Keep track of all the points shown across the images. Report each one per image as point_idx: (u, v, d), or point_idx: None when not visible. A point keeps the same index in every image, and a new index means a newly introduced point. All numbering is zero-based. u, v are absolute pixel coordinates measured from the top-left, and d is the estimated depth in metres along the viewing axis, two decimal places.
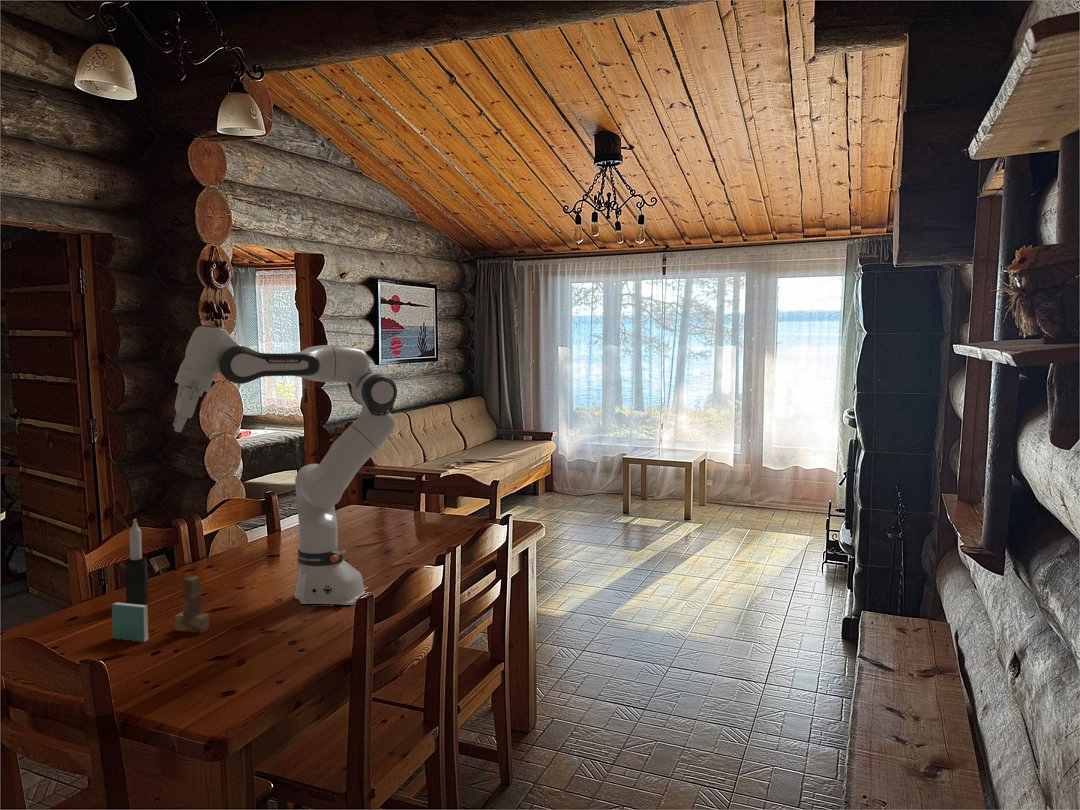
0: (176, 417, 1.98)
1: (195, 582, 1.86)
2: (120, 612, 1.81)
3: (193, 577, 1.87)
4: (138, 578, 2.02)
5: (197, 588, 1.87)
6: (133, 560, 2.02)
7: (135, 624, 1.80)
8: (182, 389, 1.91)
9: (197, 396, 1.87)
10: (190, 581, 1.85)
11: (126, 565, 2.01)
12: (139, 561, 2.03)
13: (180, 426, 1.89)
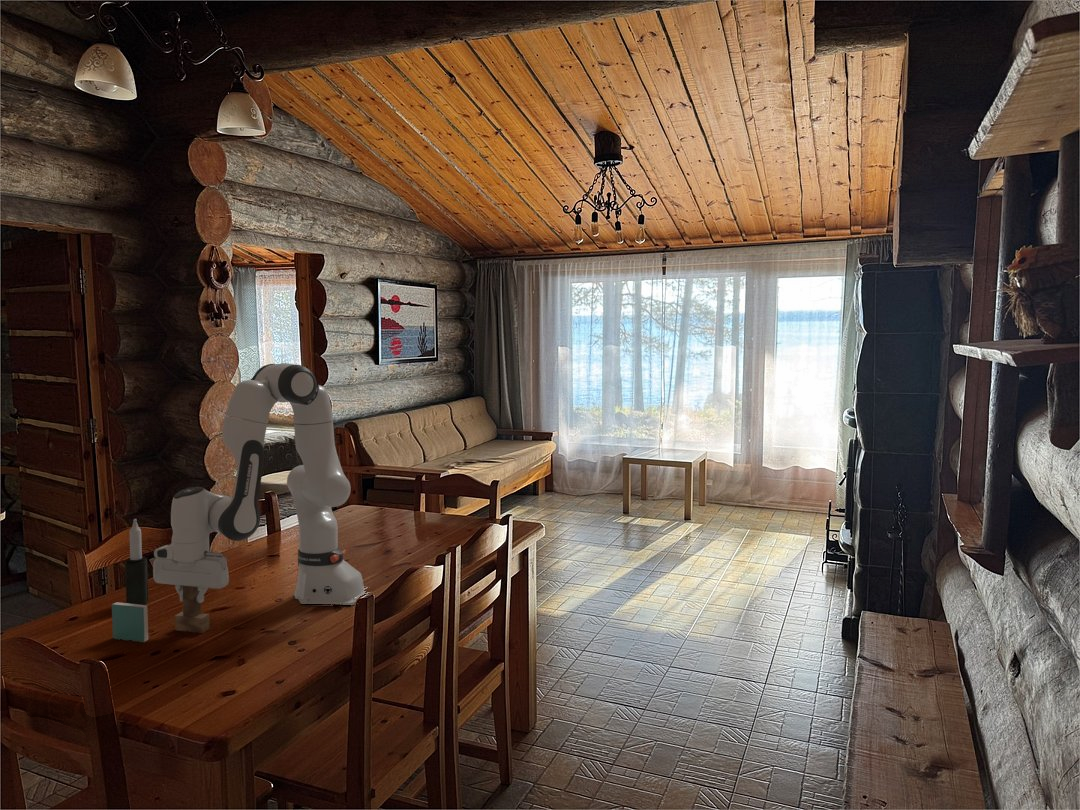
0: (180, 591, 1.87)
1: None
2: (120, 612, 1.81)
3: None
4: (138, 578, 2.02)
5: (197, 587, 1.87)
6: (133, 560, 2.02)
7: (135, 624, 1.80)
8: (193, 564, 1.84)
9: None
10: None
11: (126, 565, 2.01)
12: (139, 561, 2.03)
13: (202, 596, 1.87)
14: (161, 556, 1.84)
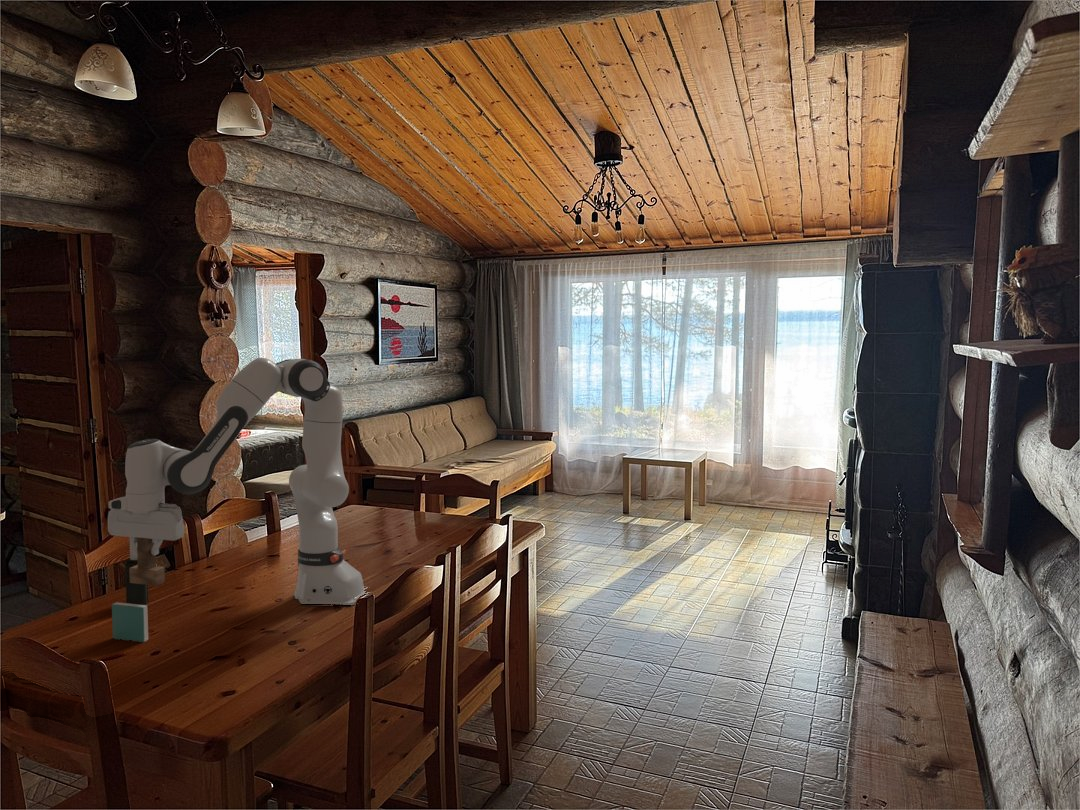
0: (135, 543, 1.86)
1: None
2: (120, 612, 1.81)
3: None
4: None
5: None
6: (133, 560, 2.02)
7: (135, 624, 1.80)
8: (147, 515, 1.83)
9: None
10: None
11: (126, 565, 2.01)
12: None
13: (157, 548, 1.86)
14: (115, 507, 1.83)
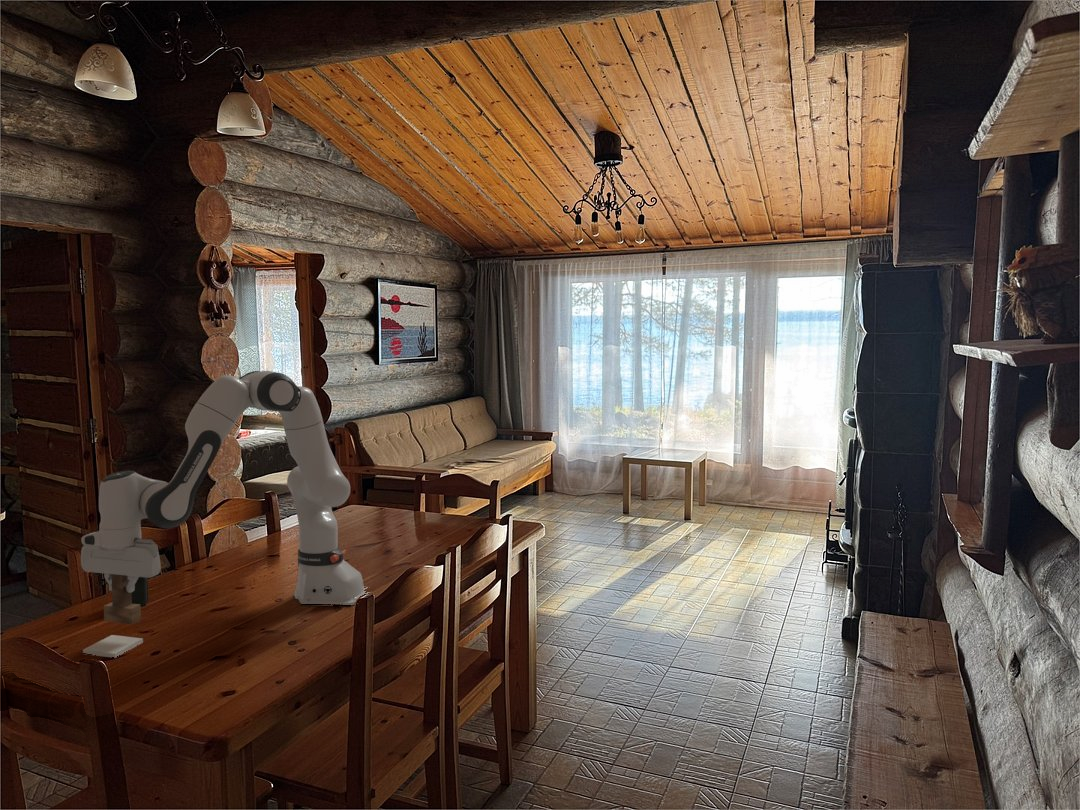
0: (110, 580, 1.78)
1: None
2: None
3: None
4: (138, 578, 2.02)
5: (127, 576, 1.78)
6: None
7: None
8: (122, 551, 1.75)
9: None
10: None
11: None
12: None
13: (132, 585, 1.78)
14: (89, 543, 1.75)
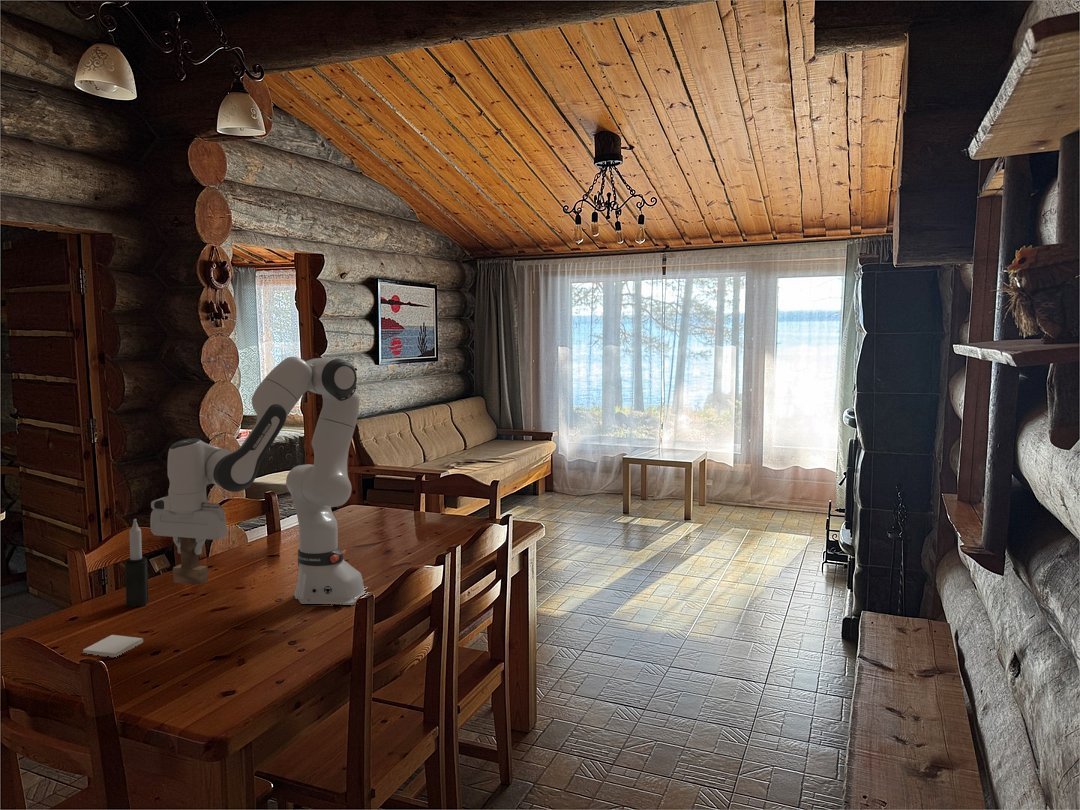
0: (178, 543, 1.86)
1: None
2: None
3: None
4: (138, 578, 2.02)
5: (195, 539, 1.86)
6: (133, 560, 2.02)
7: None
8: (190, 515, 1.83)
9: None
10: None
11: (126, 565, 2.01)
12: (139, 561, 2.03)
13: (200, 548, 1.86)
14: (158, 507, 1.83)
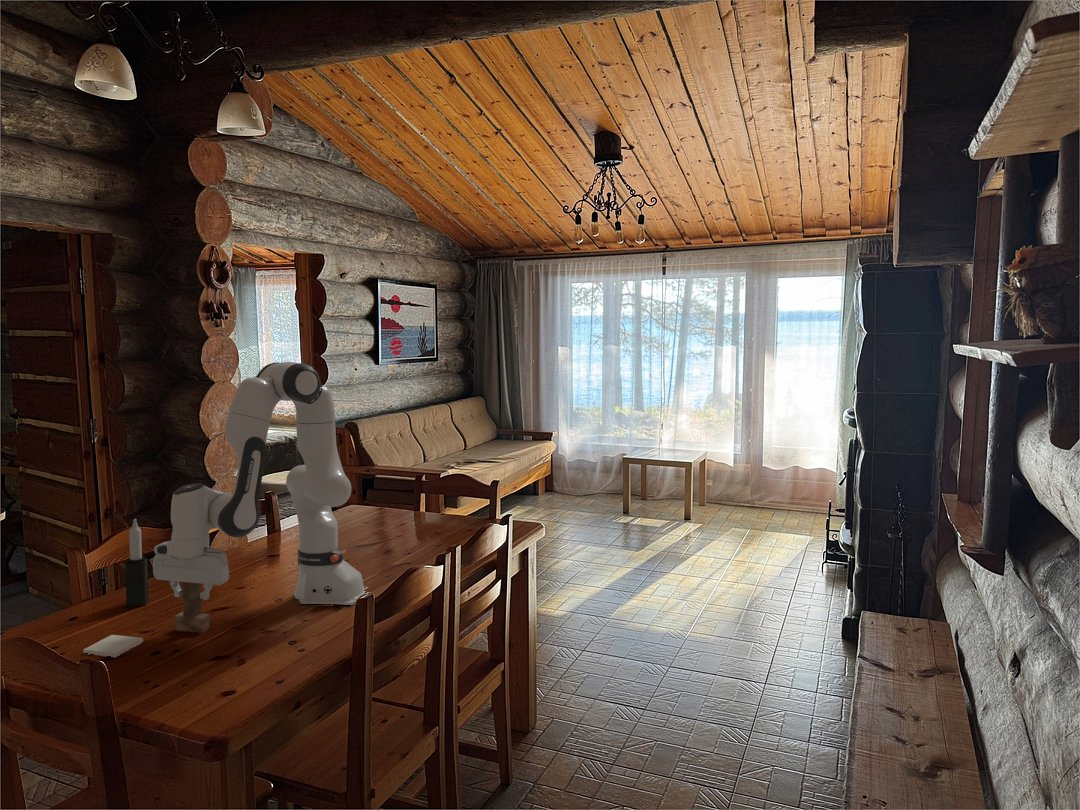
0: (175, 587, 1.87)
1: None
2: None
3: None
4: (138, 578, 2.02)
5: (197, 588, 1.87)
6: (133, 560, 2.02)
7: None
8: (193, 560, 1.84)
9: None
10: None
11: (126, 565, 2.01)
12: (139, 561, 2.03)
13: (207, 593, 1.87)
14: (161, 552, 1.84)
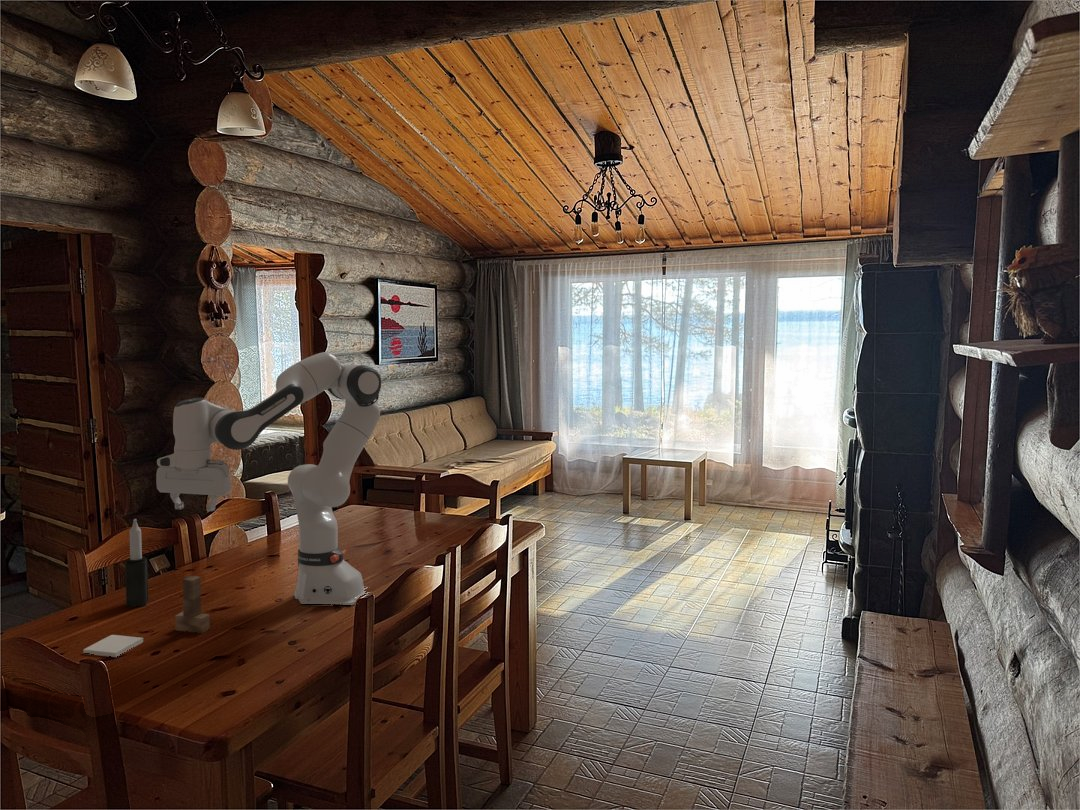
0: (175, 499, 1.92)
1: (195, 582, 1.86)
2: None
3: (194, 577, 1.87)
4: (138, 578, 2.02)
5: (197, 588, 1.87)
6: (133, 560, 2.02)
7: None
8: (196, 471, 1.88)
9: None
10: (190, 581, 1.85)
11: (126, 565, 2.01)
12: (139, 561, 2.03)
13: (213, 504, 1.91)
14: (164, 464, 1.88)
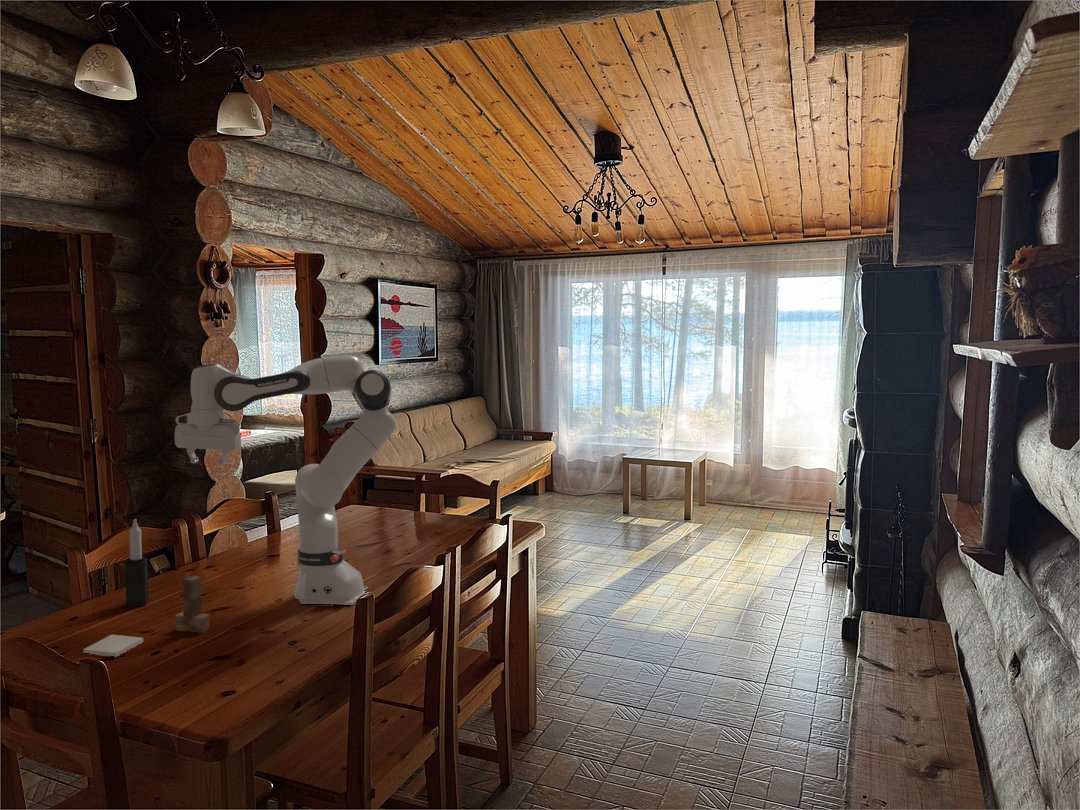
0: (191, 454, 2.14)
1: (195, 582, 1.86)
2: None
3: (194, 577, 1.87)
4: (138, 578, 2.02)
5: (197, 588, 1.87)
6: (133, 560, 2.02)
7: None
8: (210, 428, 2.10)
9: None
10: (190, 581, 1.85)
11: (126, 565, 2.01)
12: (139, 561, 2.03)
13: (225, 459, 2.13)
14: (182, 422, 2.11)
